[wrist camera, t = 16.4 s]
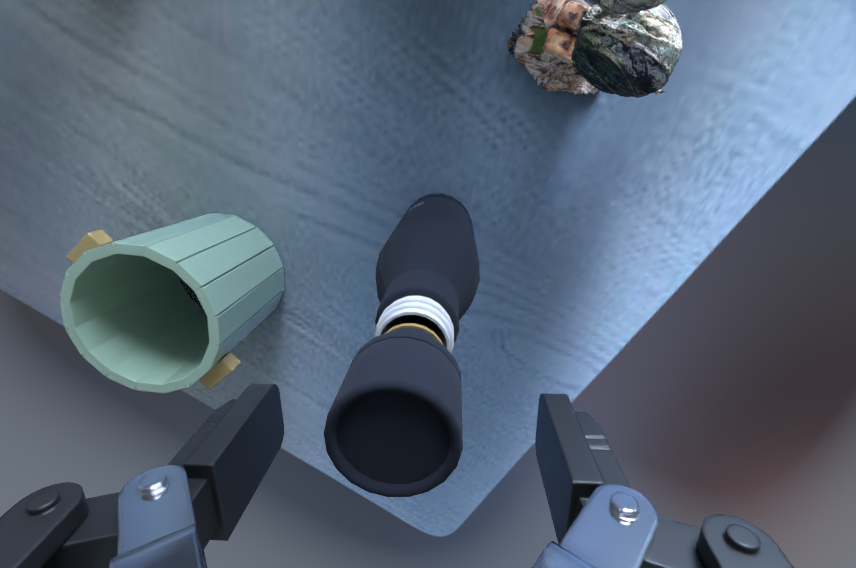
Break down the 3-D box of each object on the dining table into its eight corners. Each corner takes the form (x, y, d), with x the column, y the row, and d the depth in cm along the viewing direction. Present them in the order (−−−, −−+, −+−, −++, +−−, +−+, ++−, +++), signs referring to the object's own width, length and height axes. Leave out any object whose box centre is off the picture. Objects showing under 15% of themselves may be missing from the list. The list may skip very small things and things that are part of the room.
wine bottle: (454, 272, 41) (451, 562, 13) (392, 245, 41) (249, 486, 13) (483, 210, 39) (554, 396, 11) (418, 181, 39) (318, 298, 11)
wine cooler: (211, 178, 40) (109, 194, 28) (316, 289, 43) (264, 346, 31) (136, 254, 43) (15, 298, 31) (240, 354, 46) (165, 429, 34)
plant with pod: (587, 140, 37) (725, 141, 18) (492, 41, 35) (537, -74, 16) (664, 61, 35) (916, -32, 16) (568, -49, 33) (724, -306, 14)
